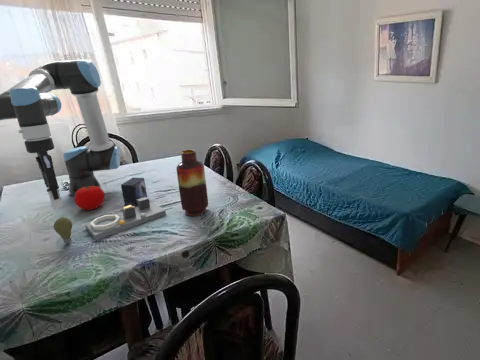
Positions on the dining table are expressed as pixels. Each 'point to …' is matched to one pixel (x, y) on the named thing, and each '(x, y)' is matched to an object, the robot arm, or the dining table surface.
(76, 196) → the tomato
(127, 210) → the tagged toggle
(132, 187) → the small box
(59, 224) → the light bulb
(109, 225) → the breaker panel
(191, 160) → the vase
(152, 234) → the dining table surface
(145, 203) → the plain toggle
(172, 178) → the dining table surface
